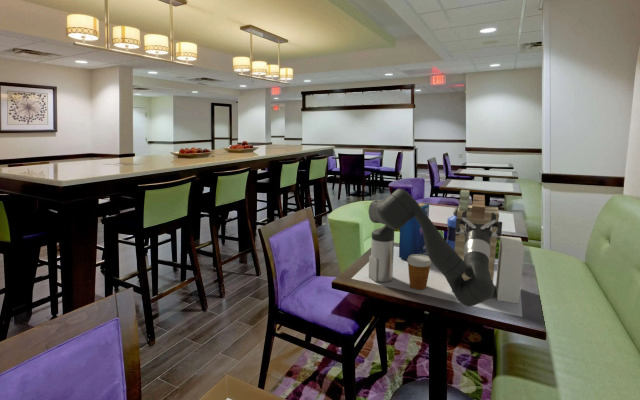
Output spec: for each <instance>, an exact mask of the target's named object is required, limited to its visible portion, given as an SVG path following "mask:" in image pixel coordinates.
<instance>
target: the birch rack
mask: <svg viewBox="0 0 640 400" xmlns="http://www.w3.org/2000/svg"><path fill="white" fill-rule="evenodd" d="M458 207H459V208H458V211H457V218H459V219H461V218H462V213H463V212H465V211H467V217H466V219H467V220H468V221H470V222H471V223H472V224H473V223H476V224H484V225H485V224H487V223H488V222H491V215H492V213H494V214H496V221H497V222H500V221H499V218H500V213H499V212H500V211H499V207H498V206H489V205H488V206H487V205H485V213H484V219H477V218H471V215H472V205H471V204H470V190H467V189H461V190H460V191H459V204H458ZM460 227H461V228H462V230H465V227H464V226H463V225H462V224H460ZM497 229H498V228H497V227H495V228H493V229H492V230H491V231H492V233H494V232H495V231H496V230H497ZM497 240H498V239H497V237H491V238H490V257H489V272H490V276H491V279H492V282H493V283H494V275H495V266H496V265H495V264H496V263H495V262H496V252H497V243H498V241H497ZM464 244H465V235H464V234H459V236H457V235H456V239H455V252H456V253H457V254H458V255H459V256H460V257H461V259H462V260H463V261H464ZM462 278H463V279H464V280H465V281H466V280H468V279H470V278H469V277H467V276H466V275H465V273H463V274H462ZM451 292H452V293H454V292H453V291H452V290H451ZM492 297H493V296H492ZM492 297H491V298H490V299H492Z"/></svg>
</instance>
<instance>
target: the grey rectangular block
mask: <svg viewBox="0 0 640 400" xmlns="http://www.w3.org/2000/svg"><path fill="white" fill-rule="evenodd" d="M498 249H499V250H498V258H497V268H496V280H495V281H496V282H495V289H496V299H497V301H502V302H507V303H513V304H520V297H521V294H520V293H521V286H522V278H523V267H524V259H525V247H524V244H523V241H522V238H521V237H516V236H514V237H513V236H505V235H504V236H503V235H501V239H500V240H499V248H498Z"/></svg>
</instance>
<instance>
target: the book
mask: <svg viewBox="0 0 640 400" xmlns="http://www.w3.org/2000/svg"><path fill="white" fill-rule="evenodd" d="M418 204H419V206H420V207H421V208H422V209H423V211H424V212H425V214H426V215H427V216H428V218H429V219H430V214H429V213H430V204H429V203H427V204H425V203H424V202H422V203H418ZM398 244H399V245H398V246H399V249H398V250H399V251H398V258H400V259H402V260H405V261H407V259H408V257H409V256H410V255H414V254H419V255H422V254H423V253H424V252H425V251H426V246H425V241H424V236H423V232H422V229H421V226H420V224H419V223H418V221H417V220H416V218H415V217H412V218H411V219H410V220H409V221H408V222H407V223H406V224H405V225H403V226H402V227H401V228H399V243H398Z"/></svg>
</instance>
